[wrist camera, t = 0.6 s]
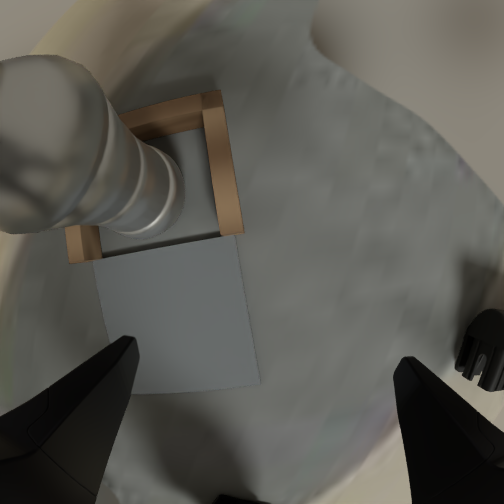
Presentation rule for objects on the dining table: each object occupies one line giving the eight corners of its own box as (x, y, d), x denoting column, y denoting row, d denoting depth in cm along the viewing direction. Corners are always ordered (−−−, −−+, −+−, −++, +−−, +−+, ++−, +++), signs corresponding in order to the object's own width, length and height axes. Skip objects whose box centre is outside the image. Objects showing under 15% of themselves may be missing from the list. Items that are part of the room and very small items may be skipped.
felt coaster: (260, 381, 22) (261, 384, 22) (127, 392, 22) (125, 394, 22) (234, 234, 22) (234, 234, 21) (94, 260, 22) (92, 260, 21)
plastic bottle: (169, 142, 22) (15, -50, 2) (207, 214, 22) (-10, 61, 2) (104, 184, 22) (-106, 99, 2) (137, 255, 22) (-120, 282, 2)
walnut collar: (244, 233, 22) (243, 231, 19) (88, 261, 22) (69, 263, 19) (223, 107, 22) (220, 89, 19) (80, 146, 22) (62, 136, 19)
